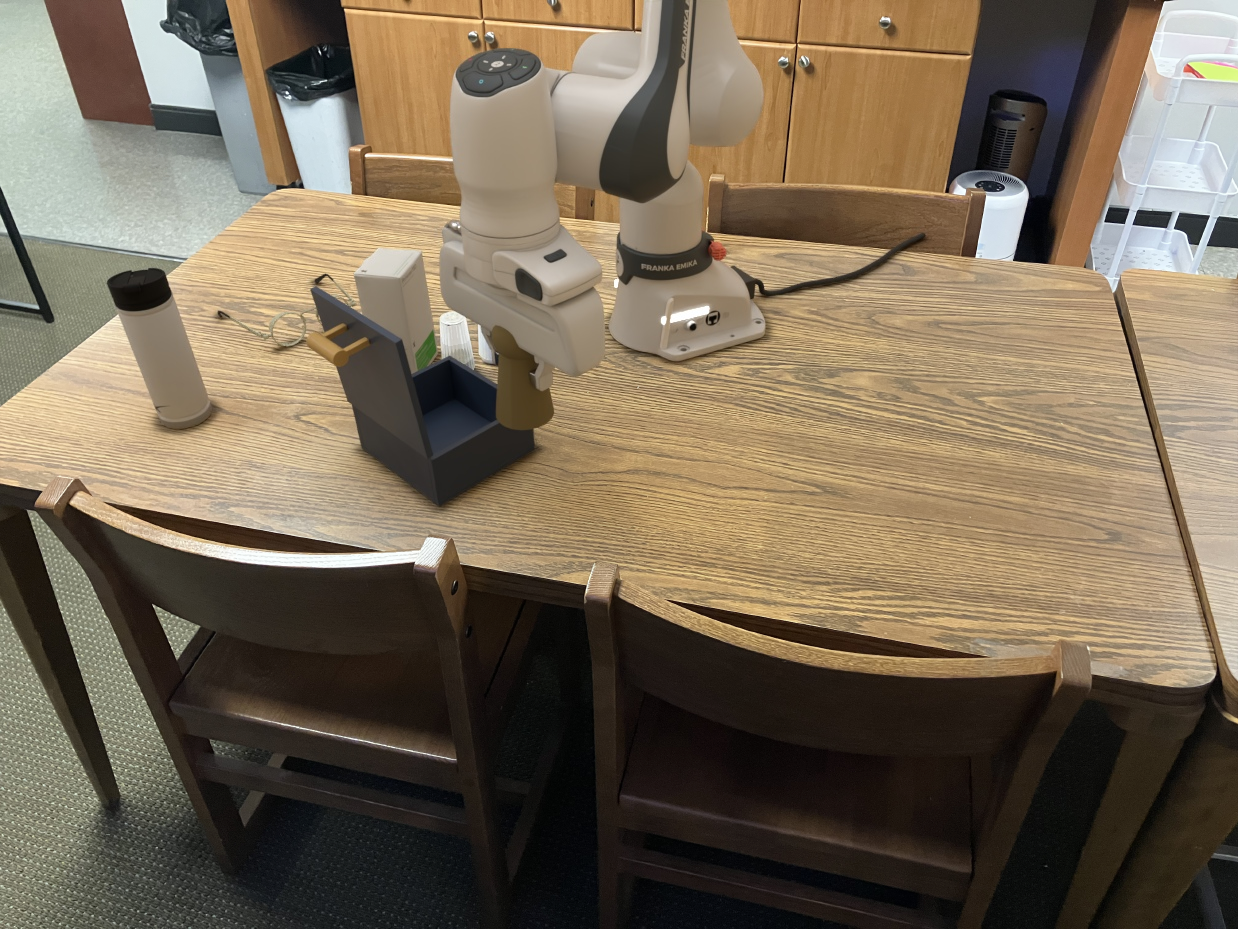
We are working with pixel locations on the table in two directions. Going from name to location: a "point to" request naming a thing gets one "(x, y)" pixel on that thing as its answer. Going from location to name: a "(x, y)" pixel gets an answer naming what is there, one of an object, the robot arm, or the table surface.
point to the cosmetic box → (399, 301)
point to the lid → (370, 369)
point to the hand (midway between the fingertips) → (522, 375)
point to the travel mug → (161, 346)
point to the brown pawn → (518, 386)
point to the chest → (449, 434)
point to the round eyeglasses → (292, 313)
